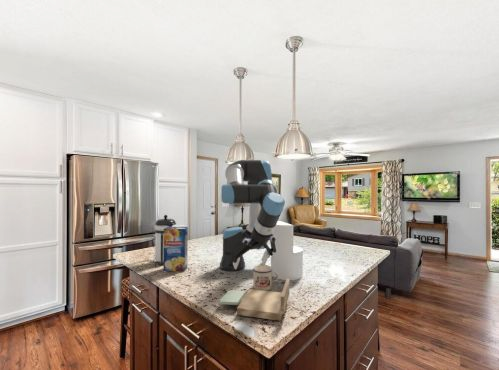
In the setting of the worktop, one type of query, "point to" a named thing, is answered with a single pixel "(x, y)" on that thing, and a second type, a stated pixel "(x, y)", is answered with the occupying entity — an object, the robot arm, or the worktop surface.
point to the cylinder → (286, 254)
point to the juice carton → (175, 248)
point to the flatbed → (264, 303)
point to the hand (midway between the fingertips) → (249, 264)
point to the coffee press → (161, 237)
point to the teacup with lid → (263, 277)
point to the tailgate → (232, 297)
